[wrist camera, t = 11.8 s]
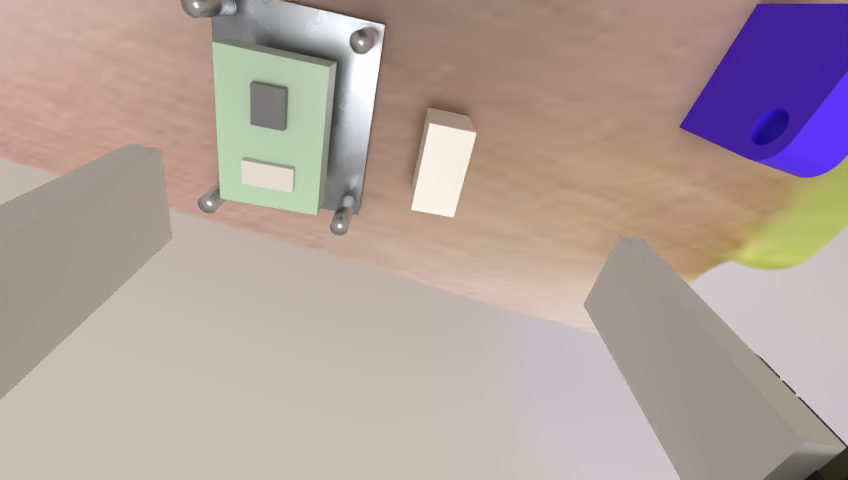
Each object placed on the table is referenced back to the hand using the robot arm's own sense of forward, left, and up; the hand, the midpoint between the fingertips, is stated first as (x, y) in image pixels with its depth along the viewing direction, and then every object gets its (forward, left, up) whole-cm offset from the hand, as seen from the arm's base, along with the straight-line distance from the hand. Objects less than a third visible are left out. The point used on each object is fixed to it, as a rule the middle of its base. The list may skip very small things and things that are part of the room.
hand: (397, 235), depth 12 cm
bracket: (-6, +36, -29) cm, 47 cm away
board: (+5, -10, -24) cm, 26 cm away
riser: (+6, +4, -29) cm, 30 cm away
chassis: (+5, -10, -29) cm, 31 cm away
